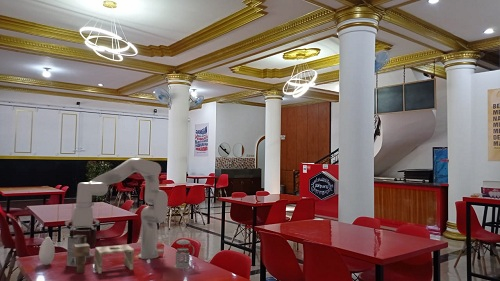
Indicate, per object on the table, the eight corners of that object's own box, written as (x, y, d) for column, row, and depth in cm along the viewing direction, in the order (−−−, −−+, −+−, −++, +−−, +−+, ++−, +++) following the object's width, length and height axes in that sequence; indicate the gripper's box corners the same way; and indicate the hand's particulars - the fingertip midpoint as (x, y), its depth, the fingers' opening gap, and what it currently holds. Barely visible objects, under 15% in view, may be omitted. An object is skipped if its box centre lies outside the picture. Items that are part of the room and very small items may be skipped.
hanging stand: (126, 263, 224) (127, 244, 224) (132, 269, 212) (133, 249, 212) (94, 267, 214) (95, 247, 215) (98, 273, 202) (99, 252, 203)
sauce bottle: (56, 264, 217) (58, 232, 218) (41, 267, 211) (43, 234, 213) (51, 262, 222) (52, 231, 224) (36, 264, 217) (38, 232, 218)
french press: (172, 264, 224) (173, 221, 226) (191, 263, 229) (192, 221, 230) (175, 269, 215) (177, 224, 217) (195, 267, 220) (197, 223, 221)
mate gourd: (68, 259, 230) (70, 225, 231) (73, 254, 243) (75, 222, 245) (96, 258, 234) (97, 225, 235) (99, 253, 247) (101, 222, 248)
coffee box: (76, 261, 225) (78, 234, 226) (86, 262, 223) (87, 235, 224) (66, 265, 216) (67, 237, 217) (76, 266, 214) (77, 237, 215)
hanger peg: (86, 269, 210) (87, 243, 211) (88, 272, 204) (89, 245, 205) (72, 270, 206) (73, 244, 207) (74, 274, 200) (75, 247, 201)
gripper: (99, 204, 215) (97, 235, 214) (65, 204, 206) (63, 236, 205) (101, 205, 209) (99, 237, 207) (67, 206, 200) (64, 239, 198)
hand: (81, 237), depth 206 cm, fingers open, 9 cm apart
